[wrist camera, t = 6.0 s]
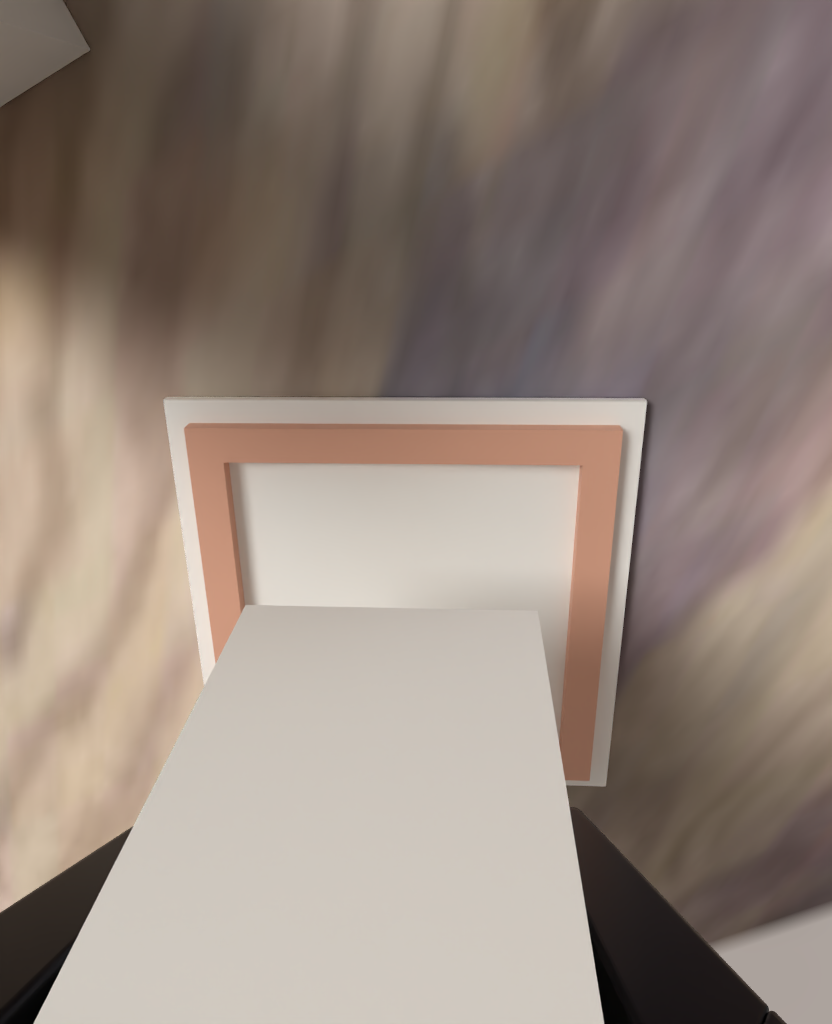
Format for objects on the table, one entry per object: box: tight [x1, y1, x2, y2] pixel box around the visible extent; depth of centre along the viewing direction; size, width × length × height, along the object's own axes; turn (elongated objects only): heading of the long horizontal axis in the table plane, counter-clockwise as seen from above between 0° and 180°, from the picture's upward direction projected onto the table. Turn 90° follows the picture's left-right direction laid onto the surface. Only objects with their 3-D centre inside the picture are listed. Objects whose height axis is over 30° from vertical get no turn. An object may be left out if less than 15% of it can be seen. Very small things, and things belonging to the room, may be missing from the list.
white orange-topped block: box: [33, 605, 604, 1024], centre depth 8 cm, size 4×4×8 cm
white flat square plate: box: [163, 397, 647, 787], centre depth 15 cm, size 8×8×1 cm
